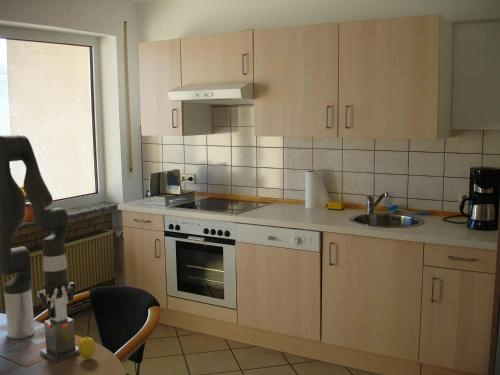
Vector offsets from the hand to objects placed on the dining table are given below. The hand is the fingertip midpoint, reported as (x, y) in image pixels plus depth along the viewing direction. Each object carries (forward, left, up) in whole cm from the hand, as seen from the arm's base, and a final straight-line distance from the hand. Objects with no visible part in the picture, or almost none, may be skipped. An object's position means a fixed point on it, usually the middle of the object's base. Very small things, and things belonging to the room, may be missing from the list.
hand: (58, 315), depth 185 cm
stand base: (0, 0, -14) cm, 14 cm away
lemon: (+11, +4, -14) cm, 18 cm away
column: (0, 0, -12) cm, 12 cm away
